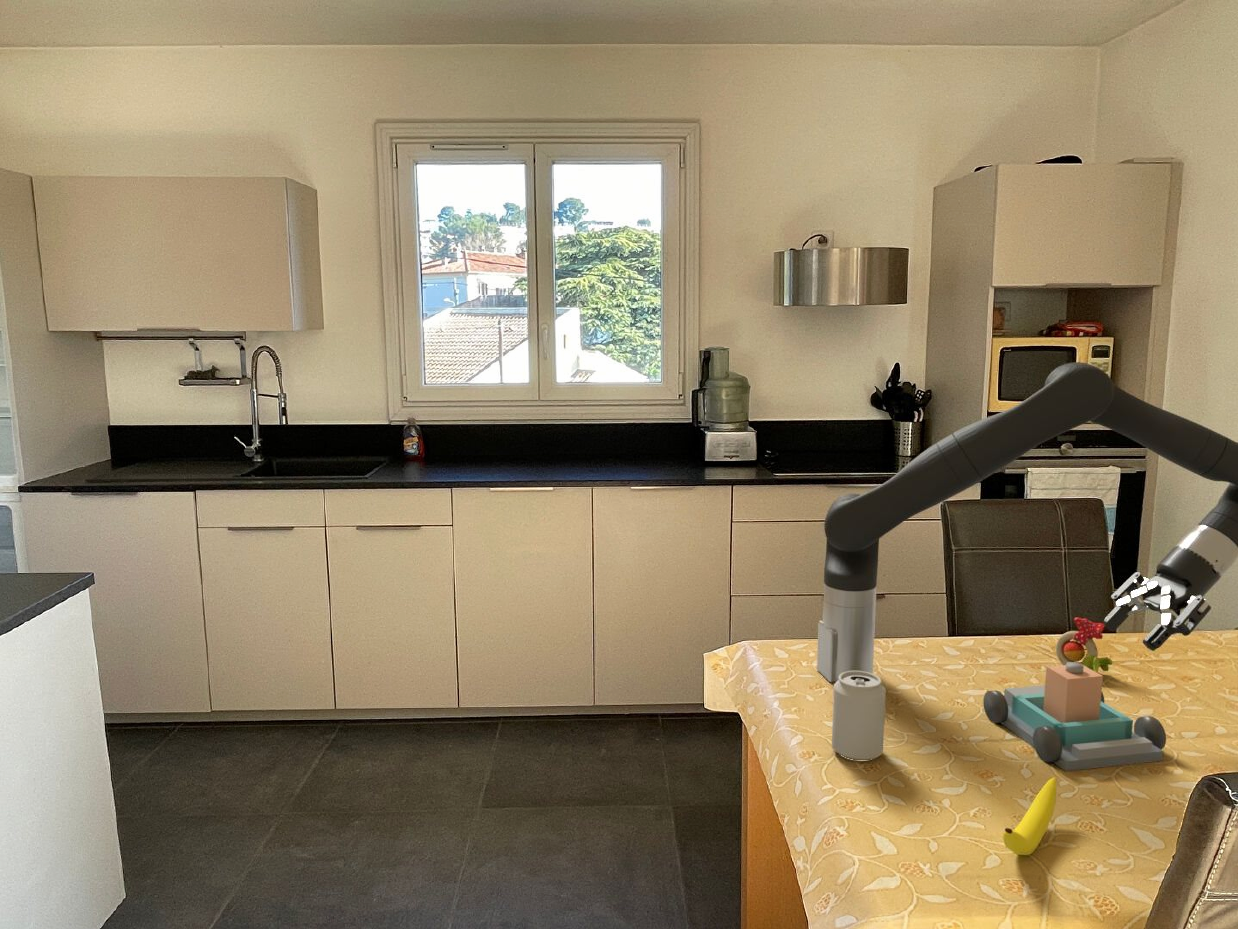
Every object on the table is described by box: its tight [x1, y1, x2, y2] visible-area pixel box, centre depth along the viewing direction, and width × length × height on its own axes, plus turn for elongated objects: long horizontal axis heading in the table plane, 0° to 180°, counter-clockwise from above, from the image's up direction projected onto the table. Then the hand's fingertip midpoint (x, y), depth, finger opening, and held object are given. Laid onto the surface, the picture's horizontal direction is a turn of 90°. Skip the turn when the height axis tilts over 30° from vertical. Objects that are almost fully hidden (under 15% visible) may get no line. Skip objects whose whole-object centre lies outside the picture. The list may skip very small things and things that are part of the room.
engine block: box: [1043, 662, 1104, 723], centre depth 139 cm, size 6×5×10 cm
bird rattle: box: [1055, 617, 1113, 674], centre depth 163 cm, size 6×11×9 cm
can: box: [831, 671, 887, 760], centre depth 134 cm, size 8×8×12 cm
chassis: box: [983, 684, 1167, 772], centre depth 140 cm, size 18×20×5 cm
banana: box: [1002, 776, 1057, 856], centre depth 112 cm, size 3×19×6 cm, turn 139°
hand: (1127, 637), depth 139 cm, fingers open, 8 cm apart
